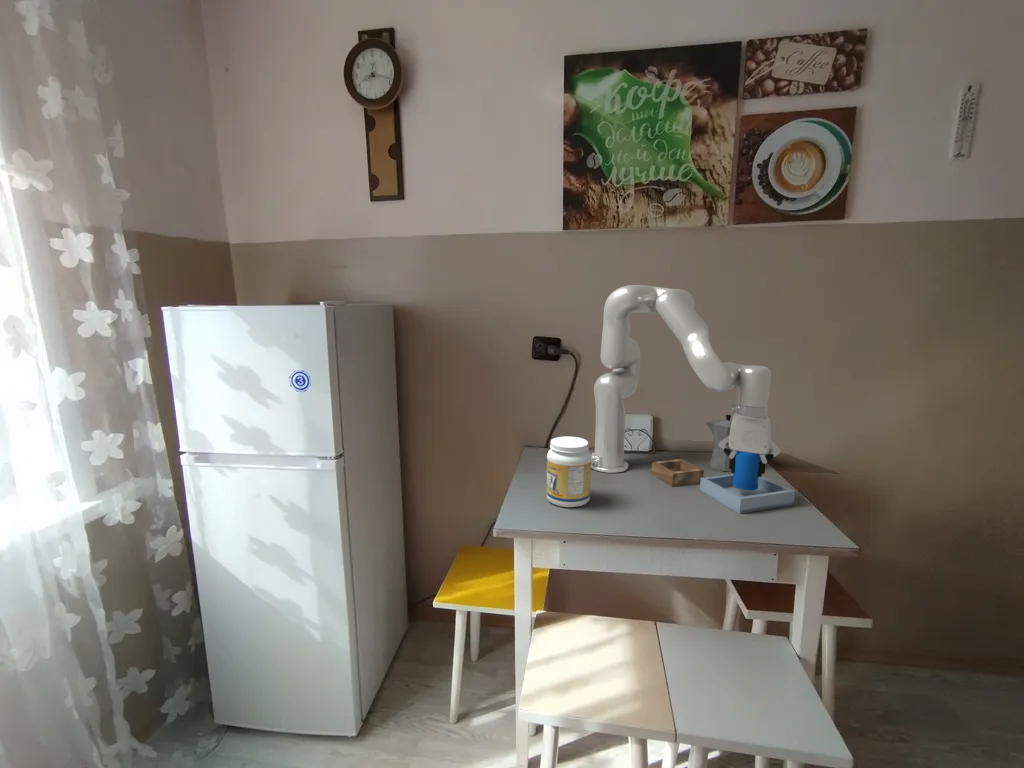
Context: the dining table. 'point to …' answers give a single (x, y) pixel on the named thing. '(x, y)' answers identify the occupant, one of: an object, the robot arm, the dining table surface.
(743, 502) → the tray
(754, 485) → the beverage can
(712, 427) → the coffeepot
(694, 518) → the dining table surface
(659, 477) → the brown wooden box
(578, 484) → the supplement tub
